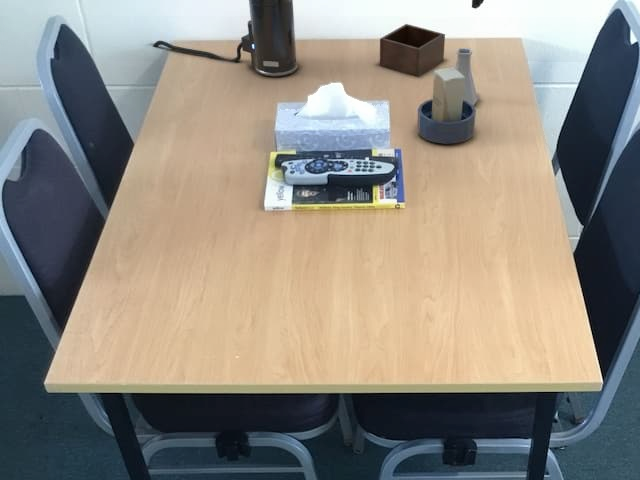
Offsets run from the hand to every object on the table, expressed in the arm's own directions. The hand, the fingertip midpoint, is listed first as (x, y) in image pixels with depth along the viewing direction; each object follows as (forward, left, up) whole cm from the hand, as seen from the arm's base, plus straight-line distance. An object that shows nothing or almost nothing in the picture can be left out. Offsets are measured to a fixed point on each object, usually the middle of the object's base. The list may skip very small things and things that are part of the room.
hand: (455, 2), depth 154 cm
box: (0, -1, -23) cm, 23 cm away
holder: (-24, +23, -24) cm, 41 cm away
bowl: (0, -1, -24) cm, 24 cm away
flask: (-5, +13, -24) cm, 28 cm away
